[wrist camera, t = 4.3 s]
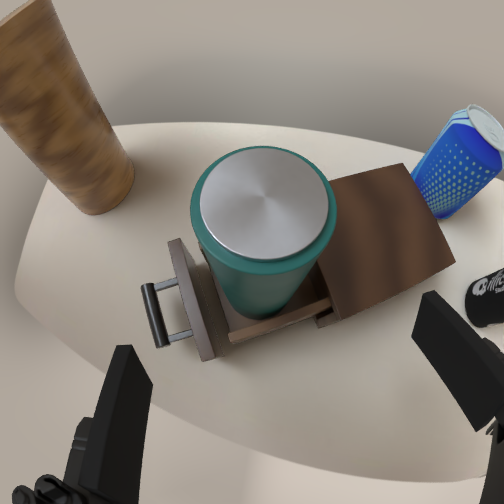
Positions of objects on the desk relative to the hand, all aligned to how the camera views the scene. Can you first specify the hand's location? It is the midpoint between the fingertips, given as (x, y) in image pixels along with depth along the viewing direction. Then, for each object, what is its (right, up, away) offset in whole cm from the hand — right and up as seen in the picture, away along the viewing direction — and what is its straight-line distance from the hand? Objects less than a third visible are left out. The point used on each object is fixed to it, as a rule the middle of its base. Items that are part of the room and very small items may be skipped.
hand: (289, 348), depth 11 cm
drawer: (-3, -1, +17) cm, 18 cm away
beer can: (+24, +12, +23) cm, 35 cm away
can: (-1, +1, +17) cm, 17 cm away
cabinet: (+10, +3, +20) cm, 22 cm away
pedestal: (-22, +14, +24) cm, 35 cm away
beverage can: (+29, -3, +18) cm, 34 cm away
